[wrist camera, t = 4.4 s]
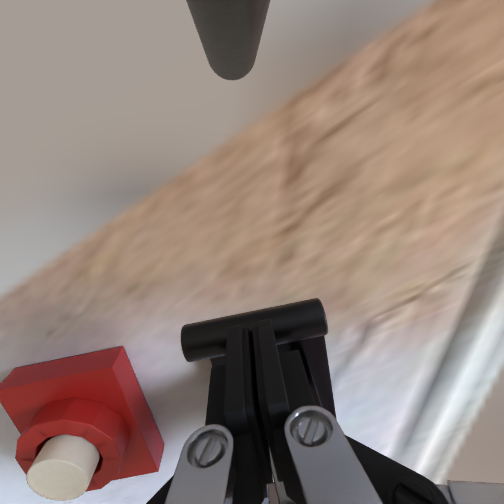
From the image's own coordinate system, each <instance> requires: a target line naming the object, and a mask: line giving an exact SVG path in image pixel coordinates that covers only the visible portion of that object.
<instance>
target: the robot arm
mask: <svg viewBox="0 0 504 504" xmlns="http://www.w3.org/2000/svg"><path fill="white" fill-rule="evenodd" d="M252 331H253V342H254V349H253V345H252V341H251V337H250V333H249V329H248V327H246V328H243V326H242V325H237V326H232V327H228V328H227V344H226V364H224V365H219V366H214V367H212V369H211V376H210V385H209V395H208V404H207V413H206V422H205V426H204V427H202V428H200V429H198V430H197V431H195V432H194V433H193V434H192V435H191V436H190V437H189V438H188V439H187V441H186V442H185V444H184V446H183V449H182V452H181V455H180V458H179V461H178V464H177V467H176V470H175V473H174V475H173V476H172V478H171V479H170V480H169V481H168V482H167V483H166V484H165V485H164V486H163V487H162V488H161V489H160V490H159V491H158V492H157V493H156V494H155V495H154V496H153V497H152V498H151V499H150V500H149V501H148V502H147V503H146V504H262V503H263V501H264V498H268V493H267V484H272V483H273V477H272V467H271V458H270V451H271V455H272V459H273V463H274V467H275V471H276V475H277V479H278V482H282V481H283V484H284V488H285V492H286V496H287V497H289V498H290V499H291V500H292V501H294V502H295V503H296V504H504V484H503V483H484V482H466V481H450V480H447V485H436V484H434V483H433V482H431V481H430V480H428V479H427V478H425V477H424V476H422V475H420V474H418V473H416V472H415V471H413V470H411V469H409V468H407V467H405V466H403V465H401V464H399V463H397V462H396V461H394V460H392V459H390V458H388V457H386V456H384V455H382V454H380V453H378V452H377V451H375V450H373V449H371V448H369V447H367V446H365V445H363V444H361V443H359V442H358V441H356V440H354V439H352V438H350V437H348V436H346V435H344V433H343V431H342V429H341V428H340V426H339V424H338V422H337V420H336V419H335V417H334V416H333V415H332V414H331V413H330V412H329V411H328V410H326V409H325V408H322V407H319V406H316V405H315V402H314V398H313V395H312V392H311V388H310V385H309V382H308V378H307V375H306V372H305V369H304V365H303V362H302V359H301V355H300V352H299V350H293V351H288V352H283V353H278V350H277V345H276V340H275V336H274V331H273V326H272V321H271V319H266V320H261V321H257V325H256V326H252ZM269 448H270V449H269Z"/></svg>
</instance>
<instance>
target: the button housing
mask: <svg viewBox="0 0 504 504" xmlns="http://www.w3.org/2000/svg"><path fill="white" fill-rule="evenodd" d="M0 402H1V404H2V405H3V407H4V409H5V410H6V412H7V413H8V415H9V416H10V418H11V420H12V421H13V423H14V424H15V426H16V428H17V429H18V431H19V432H20V434H21V435H20V437H19V438H18V440H17V449H16V457H15V458H16V460H17V462H18V463H19V465H20V466H21V468H22V469H23V471H24V472H25V474H26V475H27V472H28V470H29V469H30V467H31V465H32V464H33V462H34V461H35V459H36V457H37V456H38V454H39V453H40V451H41V449H42V448H43V446H44V445H45V443H46V442H47V441H48V440H50V439H51V438H53V437H55V436H58V435H64V434H67V435H72V436H77V437H82V438H84V439H86V440H87V441H89V442H90V443H92V444H93V445H95V446H96V447H97V449H98V451H99V462H98V464H97V467H96V469H95V471H94V474H93V476H92V478H91V481H90V483H89V486H88V488H87V490H86V491H91V490H96V489H101V488H102V487H104V486H105V485H106V484H108V483H109V482H110V481H112V480H117V479H122V478H127V477H132V476H137V475H143V474H148V473H153V472H158V471H159V467H160V462H161V458H162V454H163V450H164V443H163V440H162V438H161V435H160V433H159V431H158V428H157V426H156V423H155V421H154V419H153V416H152V414H151V412H150V409H149V407H148V404H147V402H146V400H145V397H144V395H143V392H142V390H141V388H140V385H139V383H138V381H137V378H136V376H135V373H134V371H133V369H132V366H131V364H130V361H129V359H128V357H127V354H126V352H125V349H124V347H123V346H121V347H116V348H111V349H106V350H102V351H97V352H92V353H87V354H82V355H77V356H72V357H67V358H62V359H57V360H52V361H47V362H42V363H38V364H33V365H28V366H23V367H18V368H15V369H14V370H13V371H12V372H11V373H10V374H9V375H8V376H7V377H6V378H5V379H4V380H3V381H2V382H1V383H0ZM86 491H85V492H86Z"/></svg>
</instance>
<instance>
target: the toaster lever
mask: <svg viewBox="0 0 504 504" xmlns="http://www.w3.org/2000/svg"><path fill="white" fill-rule="evenodd" d="M266 319H271V321H272V326H273V331H274V336H275V340H276V345H279V344H284V343H289V342H293V341H298V340H303V339H308V338H313V337H318V336H323V335H326V334H327V333H328V325H327V320H326V315H325V312H324V308H323V305H322V303H321V301H320V300H319V299H318V298H315V299H310V300H305V301H300V302H295V303H290V304H285V305H280V306H275V307H270V308H266V309H261V310H256V311H251V312H246V313H241V314H236V315H231V316H226V317H221V318H216V319H212V320H207V321H202V322H197V323H192V324H187V325H184V326H183V327H182V330H181V345H182V351H183V354H184V357H185V359H186V360H187V361H188V362H194V361H199V360H204V359H209V358H214V357H219V356H224V355H226V344H227V328H228V327H232V326H237V325H242V326H243V328H246V327H248V329H249V333H250V337H251V341H252V345H253V349H254V342H253V331H252V326H256V325H257V321H261V320H266ZM269 449H270V448H269ZM270 458H271V467H272V475H273V479H274V482H273V483H272V484H268V485H267V486H268V499H269V504H296V503H295V502H294V501H292V500H291V499H290V498H289V497H287V496H286V492H285V488H284V484H283V481H282V482H278V479H277V475H276V471H275V467H274V463H273V459H272V455H271V451H270Z"/></svg>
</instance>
